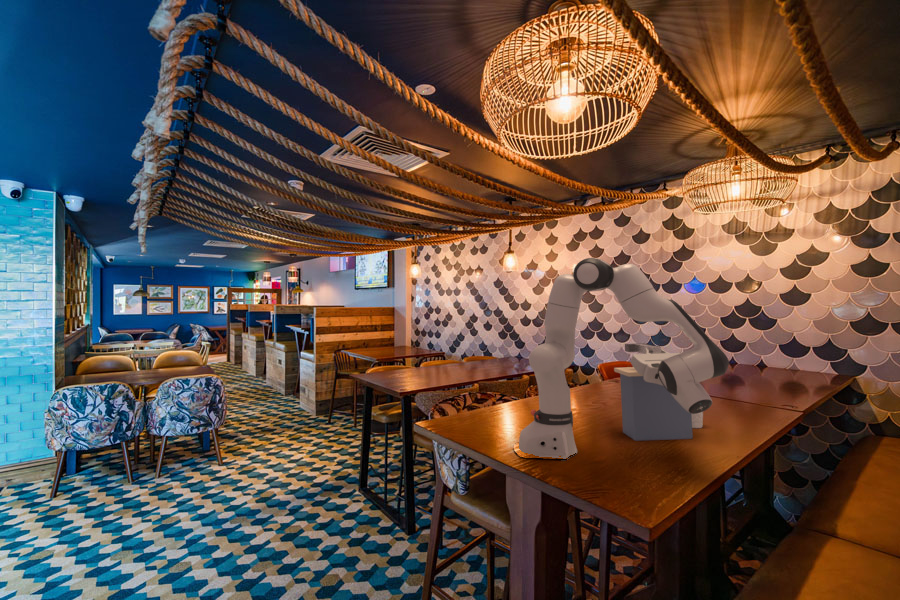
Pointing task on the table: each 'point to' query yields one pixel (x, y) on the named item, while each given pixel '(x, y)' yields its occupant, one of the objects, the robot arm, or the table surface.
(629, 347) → the steel T-bar
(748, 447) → the table surface
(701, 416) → the white cup
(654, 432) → the wood-topped grey cube
